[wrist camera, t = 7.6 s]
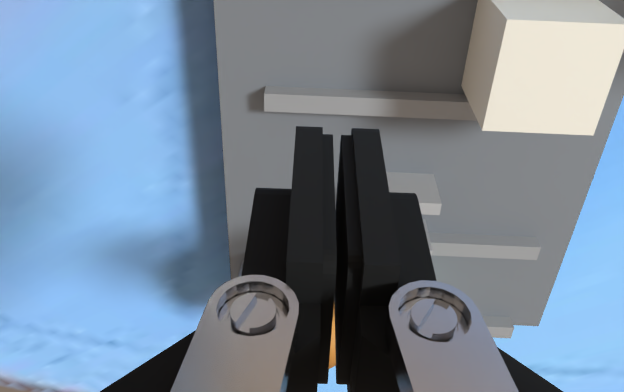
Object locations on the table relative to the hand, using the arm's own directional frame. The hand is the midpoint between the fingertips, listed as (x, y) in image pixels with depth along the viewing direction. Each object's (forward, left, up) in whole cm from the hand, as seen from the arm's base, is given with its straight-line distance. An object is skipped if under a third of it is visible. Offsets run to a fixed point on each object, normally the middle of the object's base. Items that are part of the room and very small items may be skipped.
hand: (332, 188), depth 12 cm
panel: (+7, +4, -15) cm, 17 cm away
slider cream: (+1, +8, -13) cm, 15 cm away
